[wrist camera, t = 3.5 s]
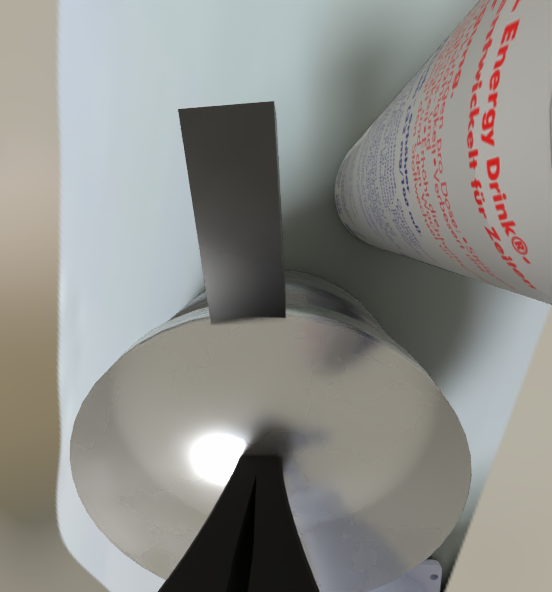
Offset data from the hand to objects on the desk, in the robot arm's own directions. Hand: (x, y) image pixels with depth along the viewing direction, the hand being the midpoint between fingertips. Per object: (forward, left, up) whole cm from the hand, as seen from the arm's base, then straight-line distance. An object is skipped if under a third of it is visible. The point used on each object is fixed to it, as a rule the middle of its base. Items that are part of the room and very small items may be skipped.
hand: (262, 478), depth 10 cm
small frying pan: (+1, 0, -1) cm, 2 cm away
